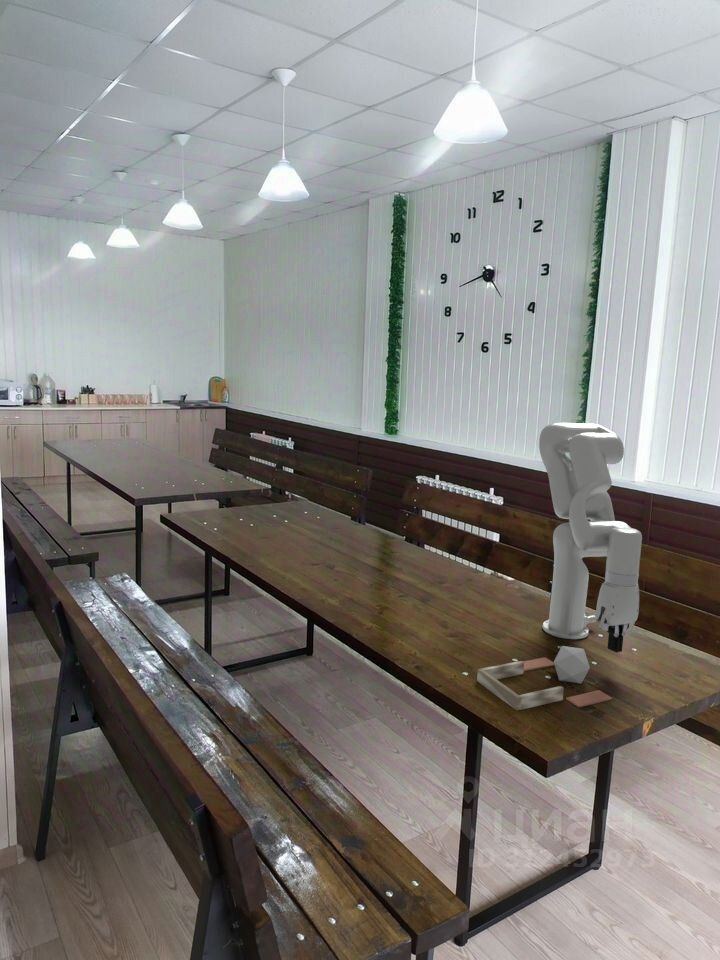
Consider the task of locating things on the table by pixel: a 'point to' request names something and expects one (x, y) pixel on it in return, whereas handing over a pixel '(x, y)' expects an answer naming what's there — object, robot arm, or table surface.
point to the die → (571, 664)
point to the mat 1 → (537, 664)
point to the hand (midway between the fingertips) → (614, 650)
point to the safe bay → (510, 697)
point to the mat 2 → (588, 698)
